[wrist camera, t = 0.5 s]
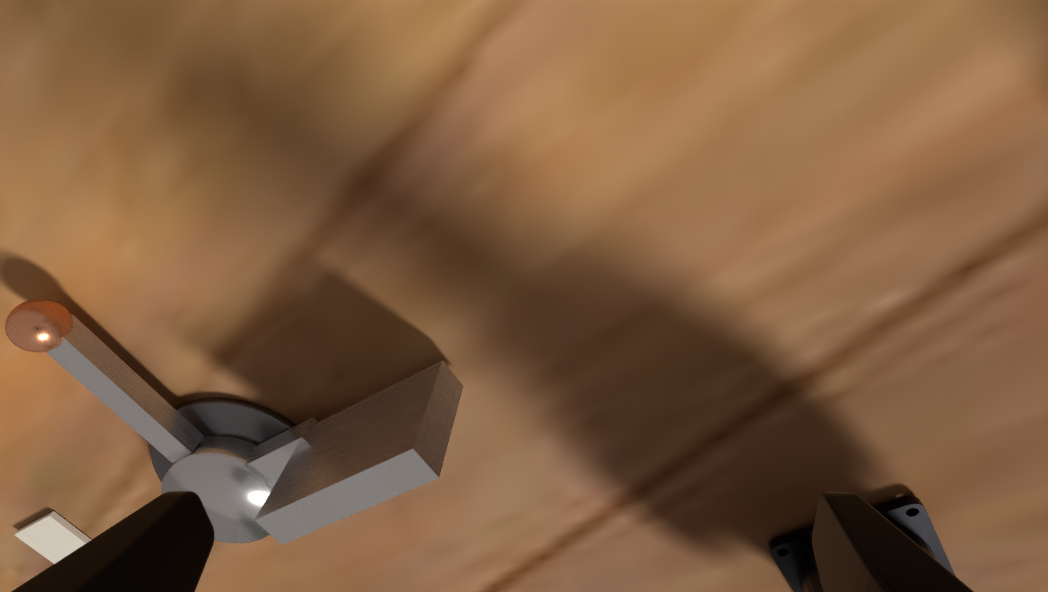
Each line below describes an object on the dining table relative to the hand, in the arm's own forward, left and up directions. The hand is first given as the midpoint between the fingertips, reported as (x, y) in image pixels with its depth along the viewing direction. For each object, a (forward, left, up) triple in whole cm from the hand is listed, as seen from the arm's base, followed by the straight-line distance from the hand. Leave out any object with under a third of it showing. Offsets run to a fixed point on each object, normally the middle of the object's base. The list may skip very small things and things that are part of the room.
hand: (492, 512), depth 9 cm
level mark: (-4, +31, -13) cm, 34 cm away
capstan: (0, +14, -13) cm, 19 cm away
